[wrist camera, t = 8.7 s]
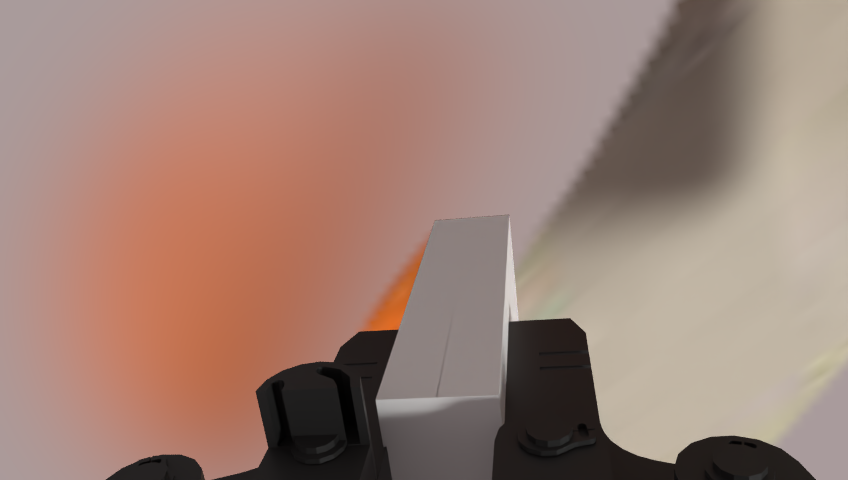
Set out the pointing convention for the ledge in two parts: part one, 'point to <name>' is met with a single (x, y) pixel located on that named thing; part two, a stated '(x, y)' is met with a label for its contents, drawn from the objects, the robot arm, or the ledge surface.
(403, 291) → the ledge surface
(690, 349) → the ledge surface
